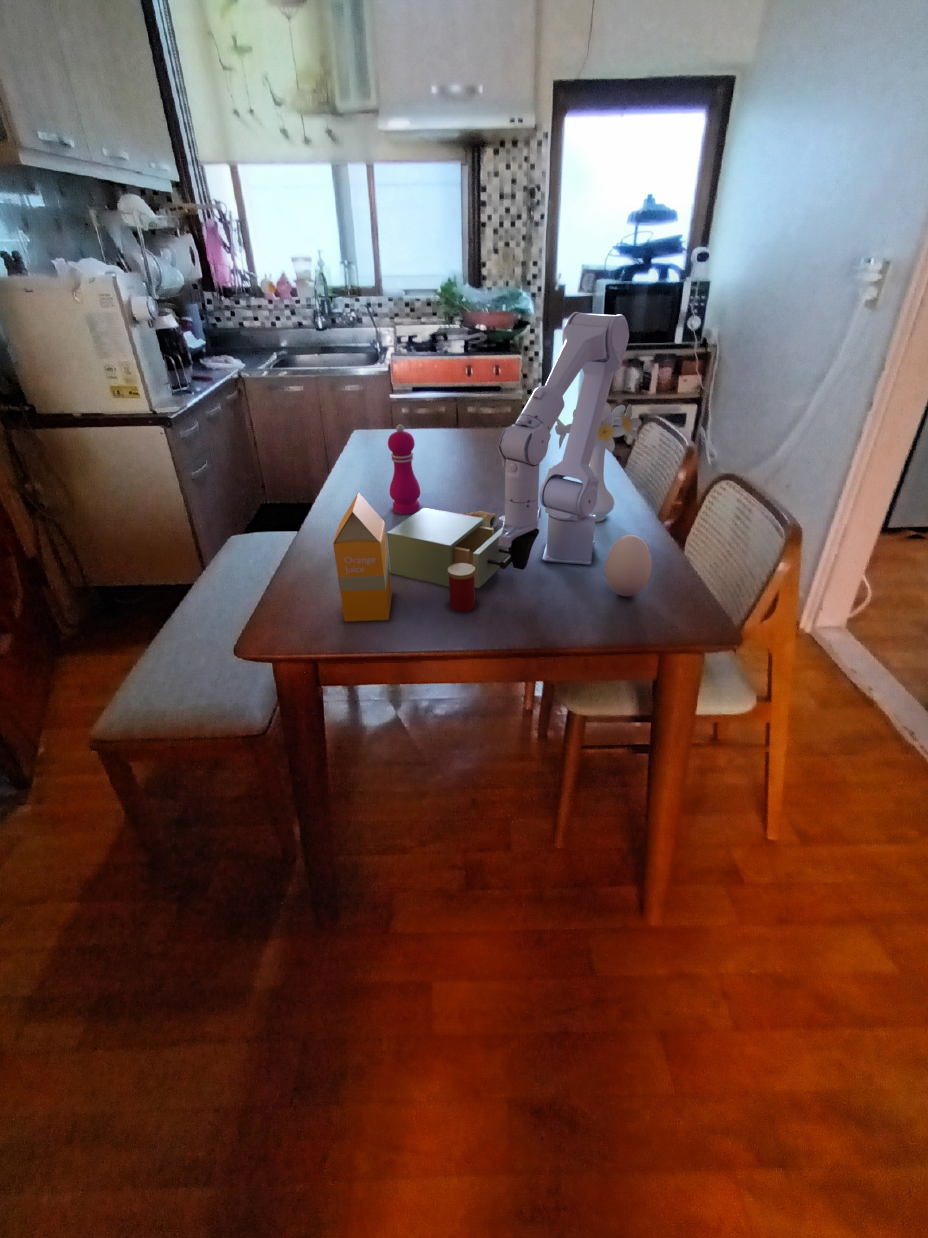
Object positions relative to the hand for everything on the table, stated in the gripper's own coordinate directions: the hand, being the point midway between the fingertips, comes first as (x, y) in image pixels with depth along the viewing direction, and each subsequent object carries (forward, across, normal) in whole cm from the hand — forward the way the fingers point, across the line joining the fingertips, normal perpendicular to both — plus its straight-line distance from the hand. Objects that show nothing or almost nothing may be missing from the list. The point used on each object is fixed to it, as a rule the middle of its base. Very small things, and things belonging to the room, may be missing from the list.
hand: (519, 567), depth 114 cm
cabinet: (+3, 0, -17) cm, 18 cm away
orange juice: (+4, +19, -21) cm, 29 cm away
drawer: (+3, 0, -10) cm, 10 cm away
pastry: (+4, -20, -18) cm, 27 cm away
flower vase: (+4, -35, +2) cm, 36 cm away
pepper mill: (+4, -22, -39) cm, 45 cm away
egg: (+4, -4, +19) cm, 20 cm away
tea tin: (+3, +12, -6) cm, 13 cm away
